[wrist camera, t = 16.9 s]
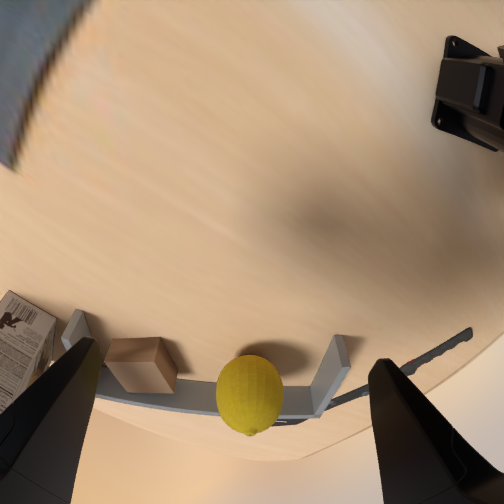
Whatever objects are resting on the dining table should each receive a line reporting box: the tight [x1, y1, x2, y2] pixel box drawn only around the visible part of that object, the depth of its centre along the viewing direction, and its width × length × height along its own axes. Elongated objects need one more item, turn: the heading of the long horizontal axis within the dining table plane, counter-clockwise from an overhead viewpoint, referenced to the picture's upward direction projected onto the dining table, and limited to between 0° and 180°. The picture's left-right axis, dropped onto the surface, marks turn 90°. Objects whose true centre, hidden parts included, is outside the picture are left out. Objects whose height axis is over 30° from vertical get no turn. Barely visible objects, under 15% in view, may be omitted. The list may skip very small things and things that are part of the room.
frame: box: [61, 309, 351, 419], centre depth 26 cm, size 24×9×4 cm, turn 83°
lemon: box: [216, 355, 284, 436], centre depth 24 cm, size 6×6×8 cm
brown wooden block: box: [104, 337, 178, 393], centre depth 27 cm, size 5×5×3 cm
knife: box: [272, 327, 473, 426], centre depth 33 cm, size 32×4×1 cm, turn 126°
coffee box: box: [0, 291, 56, 413], centre depth 20 cm, size 9×6×16 cm
